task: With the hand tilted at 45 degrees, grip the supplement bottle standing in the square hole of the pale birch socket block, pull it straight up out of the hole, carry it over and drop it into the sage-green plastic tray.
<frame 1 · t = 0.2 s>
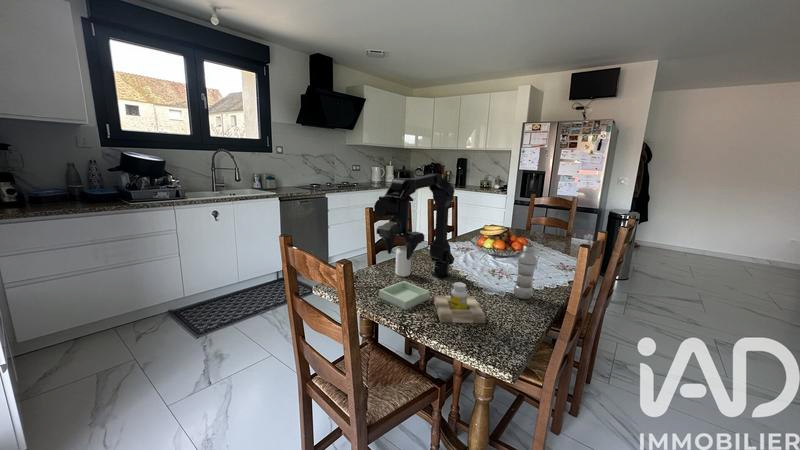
hand: (398, 256, 114), 15 cm above the table, tool pointing down, fingers open, 9 cm apart
can: (402, 274, 137), on the table
socket block: (457, 311, 105), on the table
tray: (404, 298, 113), on the table
plastic bottle: (522, 297, 118), on the table
supplement bottle: (457, 312, 105), resting in socket block
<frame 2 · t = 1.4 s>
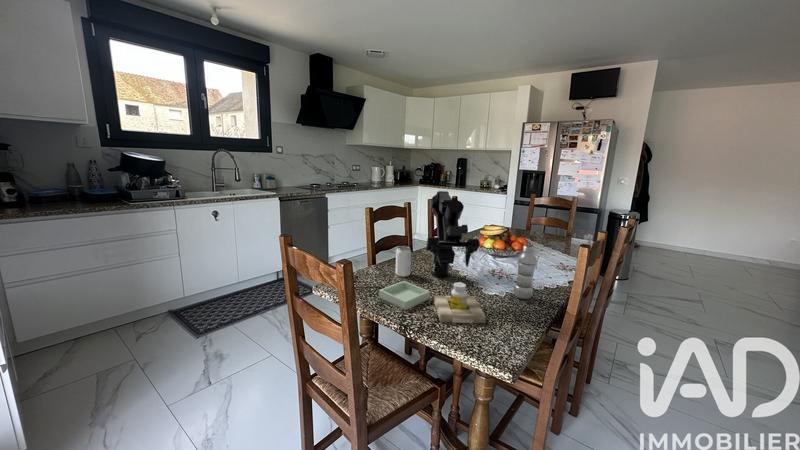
hand: (454, 265, 110), 13 cm above the table, tool tilted 45°, fingers open, 9 cm apart
nothing on the table moved.
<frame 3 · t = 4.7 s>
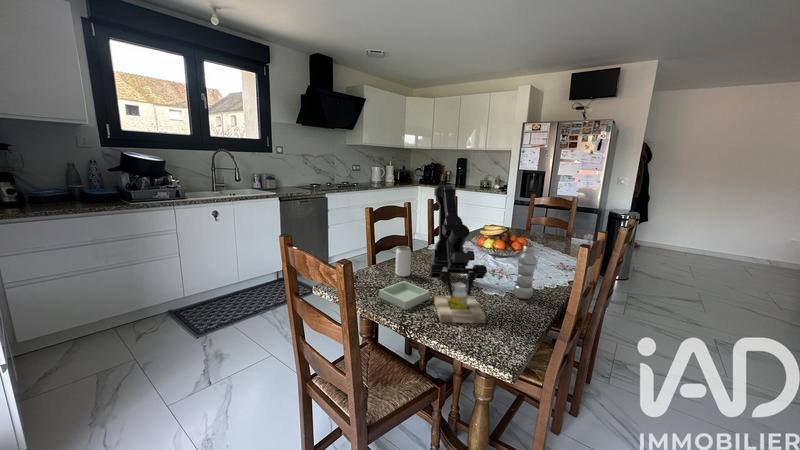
hand: (460, 295, 102), 7 cm above the table, tool tilted 45°, fingers closed on supplement bottle, 5 cm apart
supplement bottle: (457, 312, 105), resting in socket block, touching gripper
everything else where it was.
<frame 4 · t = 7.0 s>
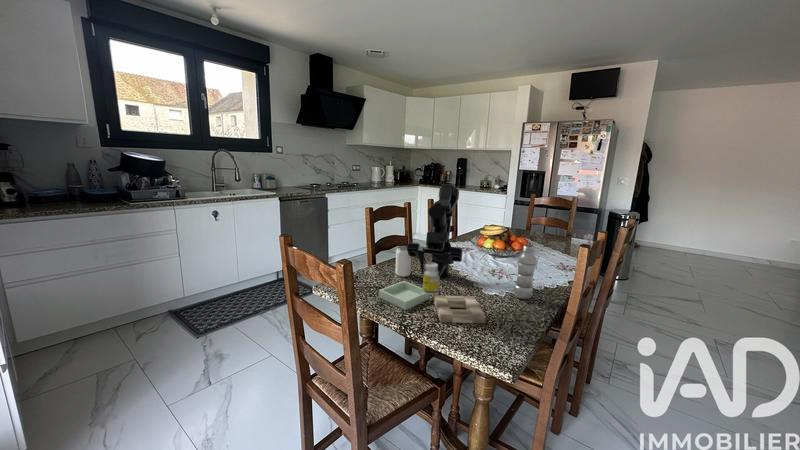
hand: (430, 274, 104), 12 cm above the table, tool tilted 45°, fingers closed on supplement bottle, 5 cm apart
supplement bottle: (430, 292, 106), point 5 cm above the table, touching gripper
everything else where it was.
when the fingers open (8 cm above the table, at t = 9.3 s): supplement bottle stays where it is, resting on tray.
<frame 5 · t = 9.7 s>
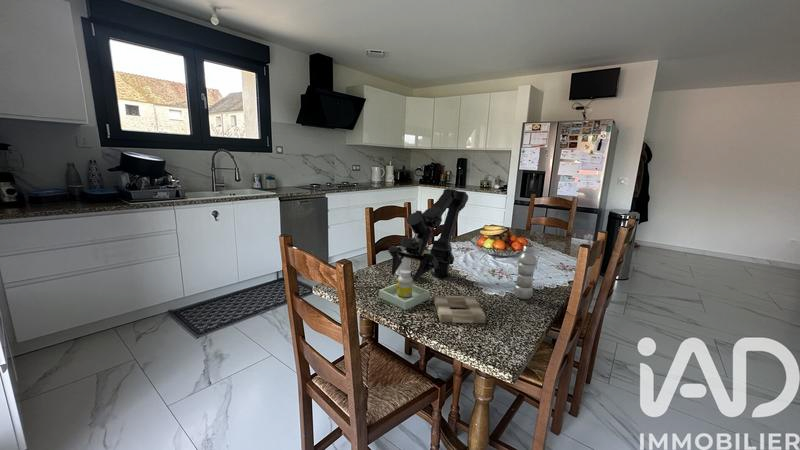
hand: (402, 277, 110), 9 cm above the table, tool tilted 45°, fingers open, 9 cm apart
supplement bottle: (404, 297, 113), resting on tray
everything else where it was.
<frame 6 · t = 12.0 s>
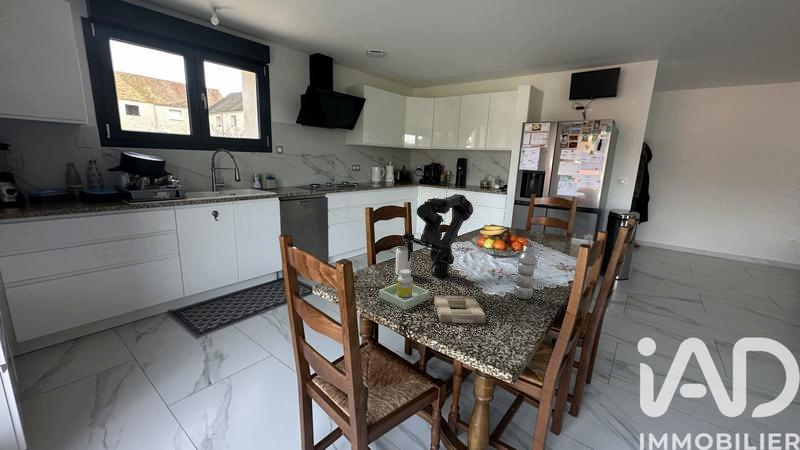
hand: (419, 265, 119), 10 cm above the table, tool tilted 30°, fingers open, 9 cm apart
nothing on the table moved.
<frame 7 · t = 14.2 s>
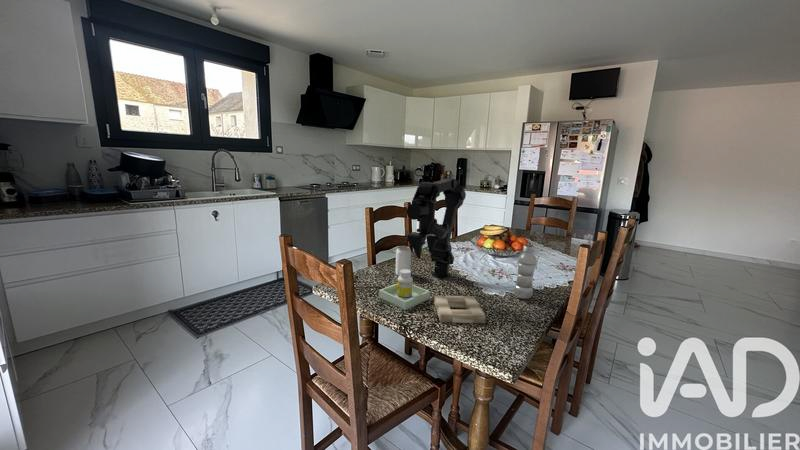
hand: (424, 255, 121), 13 cm above the table, tool pointing down, fingers open, 9 cm apart
nothing on the table moved.
at the end: supplement bottle inside the target area on the tray (0.2 cm from its centre), point 0.4 cm above the tray's base; the gripper is holding nothing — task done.
